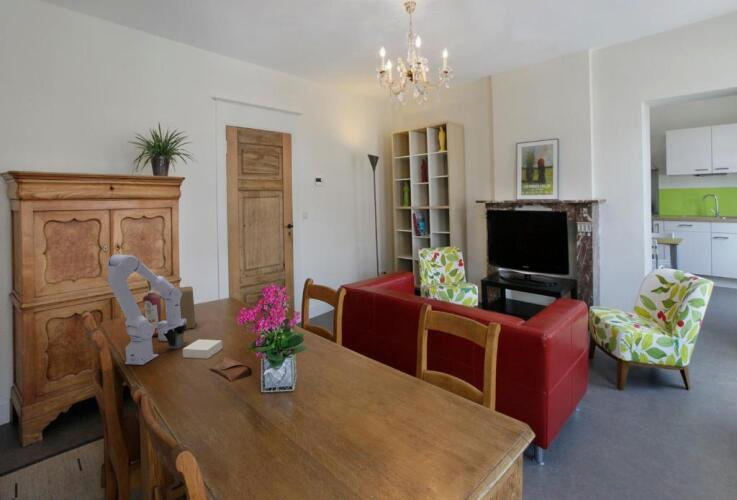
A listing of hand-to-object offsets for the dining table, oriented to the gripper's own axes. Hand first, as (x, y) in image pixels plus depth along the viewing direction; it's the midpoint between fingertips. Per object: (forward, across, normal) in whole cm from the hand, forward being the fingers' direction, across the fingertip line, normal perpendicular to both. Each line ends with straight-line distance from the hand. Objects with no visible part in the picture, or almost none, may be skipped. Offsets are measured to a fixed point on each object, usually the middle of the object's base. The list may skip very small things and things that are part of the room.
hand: (175, 343), depth 172 cm
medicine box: (+2, +8, +9) cm, 12 cm away
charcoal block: (+1, 0, 0) cm, 1 cm away
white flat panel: (+2, -5, -16) cm, 17 cm away
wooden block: (+2, +26, +13) cm, 29 cm away
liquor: (+2, +13, +20) cm, 24 cm away
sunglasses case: (+2, -21, -36) cm, 42 cm away
